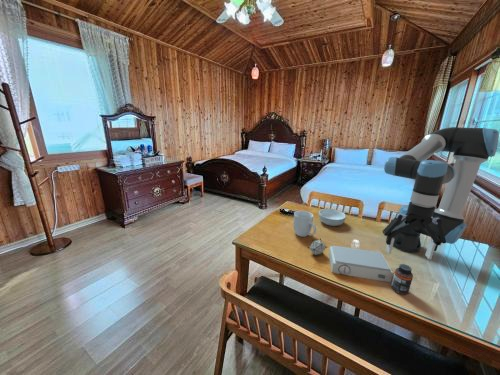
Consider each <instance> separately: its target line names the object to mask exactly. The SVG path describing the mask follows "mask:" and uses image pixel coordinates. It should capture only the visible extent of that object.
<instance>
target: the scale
mask: <svg viewBox="0 0 500 375" xmlns="http://www.w3.org/2000/svg"><path fill="white" fill-rule="evenodd" d="M328 259H329V264H330V271H331V273H333V274H338V275H344V276H350V277H355V278H362V279H368V280H373V281H380V282H387V283H392V279H393V276H394V272H393V271H392V268H391V267H390V265H389V263H388V261H387V260H386V257H385V256H384V255H383V253H382V252H381V251H375V250H366V249H359V248H355V247H354V248H353V247H348V246H347V247H346V246H340V245H333V244H332V245H331V246H329V249H328Z"/></svg>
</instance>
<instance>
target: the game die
mask: <svg viewBox="0 0 500 375" xmlns="http://www.w3.org/2000/svg"><path fill="white" fill-rule="evenodd" d="M327 248H328V246H326V245H325V244H324V242H323V241H322V238H319V239H317V240H313V239H312V240H311V243H310V246H308V247H307V249H309V250H310V251H311V252H312V253H313V257H316V256H318V255H324V251H325V250H326V249H327Z"/></svg>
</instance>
